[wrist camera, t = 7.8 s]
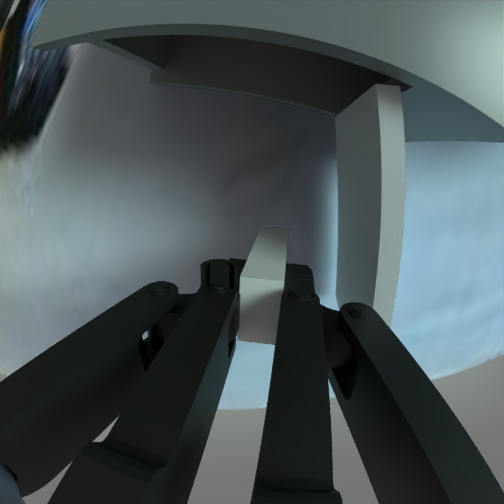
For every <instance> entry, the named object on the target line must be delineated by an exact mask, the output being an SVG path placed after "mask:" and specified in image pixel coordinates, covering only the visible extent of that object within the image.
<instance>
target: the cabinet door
mask: <svg viewBox="0 0 504 504" xmlns="http://www.w3.org/2000/svg"><path fill="white" fill-rule="evenodd" d="M335 132H336V149H337V173H338V253H337V278H336V299H337V303H338V307H339V311H340V308H341V306H342V305H344V304H345V303H350V302H360V303H364V304H366V305H368V306H370V307H372V308H373V309H374V310H375V311H376V312H377V313H378V314H379V315H380V317H381V318H382V319H383V320H384V321H385V323H386V324H387V325H388V326H389V328H390V324H391V319H392V314H393V308H394V303H395V296H396V290H397V283H398V276H399V268H400V260H401V251H402V240H403V227H404V211H405V137H404V121H403V109H402V99H401V90H400V86H393V85H384V84H375V85H374V86H372V87H371V88H370V89H369V90H367V91H366V92H365V93H364V94H363V95H361V96H360V97H359V98H358V99H356V100H355V101H354V102H353V103H352V104H350V105H349V106H348V107H347V108H346V109H344V110H343V111H342V112H341V113H340V114H338V115H337V116H336V117H335Z"/></svg>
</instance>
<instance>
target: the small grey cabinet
mask: <svg viewBox="0 0 504 504" xmlns="http://www.w3.org/2000/svg"><path fill="white" fill-rule="evenodd" d="M85 42H88V43H91V44H94V45H96V46H99V47H102V48H104V49H107V50H109V51H112V52H114V53H117V54H119V55H121V56H124V57H126V58H128V59H131V60H133V61H135V62H137V63H140V64H142V65H144V66H146V67H148V68H151V69H152V73H151V77H150V81H149V82H150V83H153V84H155V85H170V86H182V87H193V88H202V89H210V90H217V91H224V92H231V93H237V94H243V95H249V96H254V97H259V98H264V99H269V100H274V101H278V102H283V103H287V104H291V105H295V106H299V107H303V108H307V109H311V110H314V111H318V112H322V113H325V114H328V115H332V116H335V117H336V116H337V115H338V114H340V113H341V112H342V111H343V110H344V109H346V108H347V107H348V106H349V105H350V104H352V103H353V102H354V101H355V100H356V99H358V98H359V97H360V96H361V95H363V94H364V93H365V92H366V91H367V90H369V89H370V88H371V87H372V86H374V85H375V84H384V85H393V86H400V90H401V99H402V109H403V121H404V137H405V142H412V141H483V142H502V143H504V0H48V3H47V5H46V7H45V9H44V12H43V14H42V17H41V19H40V22H39V24H38V27H37V30H36V33H35V36H34V38H33V41H32V44H31V48H35V49H40V50H45V51H48V50H51V49H56V48H60V47H64V46H69V45H74V44H79V43H85Z"/></svg>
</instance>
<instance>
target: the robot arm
mask: <svg viewBox="0 0 504 504" xmlns="http://www.w3.org/2000/svg"><path fill="white" fill-rule="evenodd" d="M12 3H13V0H0V30H1V28H2V26H3V24H4V22H5V19H6V17H7V15H8V13H9V10H10V8H11V5H12ZM288 230H289V229H287V228H276V227H266V226H261V228H260V231H259V233H258V235H257V238H256V240H255V243H254V245H253V247H252V250H251V252H250V254H249V257H248V259H247V260H243V259H233V258H230V259H229V260H225V259H213V260H208V261H205V262H203V263H202V264H201V286H200V288H199V290H198V291H197V293H193V294H178V287H177V286H176V285H175V284H173V283H170V282H165V281H162V282H161V281H157V282H154V283H150V284H148V285H146V286H144V287H143V288H141V289H139V290H138V291H136V292H135V293H133V294H132V295H130V296H128V297H127V298H125V299H124V300H122V301H120V302H119V303H117V304H116V305H114V306H113V307H111V308H110V309H108V310H106V311H105V312H103V313H102V314H100V315H99V316H97V317H96V318H94V319H92V320H91V321H89V322H88V323H86V324H85V325H83V326H82V327H80V328H79V329H77V330H76V331H74V332H73V333H71V334H70V335H68V336H67V337H65V338H64V339H62V340H61V341H59V342H58V343H56V344H55V345H53V346H52V347H50V348H49V349H47V350H46V351H44V352H43V353H41V354H40V355H38V356H37V357H35V358H34V359H32V360H31V361H30V362H28V363H27V364H25V365H24V366H22V367H21V368H19V369H18V370H17V371H15V372H14V373H12V374H11V375H9V376H8V377H7V378H5V379H4V380H2V381H1V382H0V504H25V502H24V501H23V499H22V497H24V496H27V495H29V494H32V493H33V492H35V491H37V490H39V489H40V488H42V487H44V486H45V485H46V484H47V483H49V482H50V481H51V480H52V479H53V478H55V477H56V476H57V475H58V474H59V473H60V472H61V471H62V470H63V469H64V468H65V467H66V466H67V465H68V464H70V462H72V461H73V462H72V463H71V465H70V466H69V468H68V470H67V471H66V473H65V475H64V476H63V478H62V480H61V481H60V483H59V485H58V487H57V488H56V490H55V492H54V493H53V495H52V497H51V499H50V500H49V502H48V504H187V502H188V499H189V496H190V492H191V490H192V487H193V483H194V480H195V477H196V474H197V471H198V468H199V465H200V461H201V458H202V455H203V452H204V449H205V446H206V442H207V439H208V436H209V433H210V429H211V426H212V423H213V420H214V417H215V413H216V410H217V407H218V404H219V401H220V397H221V394H222V391H223V388H224V384H225V381H226V378H227V375H228V371H229V368H230V365H231V361H232V358H233V355H234V351H235V347H236V336H237V332H238V340H241V341H248V342H256V343H264V344H273V345H275V351H274V358H273V366H272V373H271V381H270V388H269V395H268V401H267V408H266V415H265V421H264V428H263V434H262V440H261V446H260V452H259V458H258V464H257V470H256V475H255V482H254V487H253V492H252V497H251V503H250V504H342V498H341V495H340V493H339V492H338V491H337V490H335V489H334V486H333V467H332V466H333V465H332V435H331V416H330V401H329V386H328V379H329V381H330V384H331V386H332V389H333V391H334V393H335V396H336V398H337V400H338V403H339V405H340V408H341V410H342V412H343V415H344V417H345V420H346V422H347V425H348V427H349V430H350V432H351V434H352V437H353V439H354V442H355V444H356V447H357V449H358V451H359V454H360V457H361V459H362V462H363V464H364V467H365V469H366V472H367V474H368V477H369V479H370V482H371V484H372V487H373V490H374V492H375V495H376V497H377V500H378V502H379V504H504V492H503V491H502V489H501V487H500V485H499V483H498V482H497V480H496V478H495V477H494V475H493V473H492V472H491V470H490V468H489V466H488V465H487V463H486V462H485V460H484V458H483V457H482V455H481V454H480V452H479V450H478V449H477V447H476V446H475V444H474V443H473V441H472V440H471V438H470V436H469V435H468V433H467V432H466V430H465V429H464V427H463V426H462V424H461V423H460V421H459V420H458V419H457V417H456V416H455V414H454V413H453V411H452V410H451V409H450V407H449V406H448V404H447V403H446V401H445V400H444V399H443V397H442V396H441V394H440V393H439V392H438V391H437V389H436V388H435V386H434V385H433V384H432V382H431V381H430V379H429V378H428V377H427V375H426V374H425V373H424V371H423V370H422V369H421V367H420V366H419V365H418V363H417V362H416V361H415V359H414V358H413V357H412V356H411V354H410V353H409V352H408V350H407V349H406V348H405V347H404V345H403V344H402V343H401V341H400V340H399V339H398V338H397V336H396V335H395V334H394V333H393V331H392V330H391V329H390V328H389V326H388V325H387V324H386V323H385V321H384V320H383V319H382V318H381V317H380V315H379V314H378V313H377V312H376V311H375V310H374V309H373V308H372V307H370V306H368V305H366V304H364V303H360V302H350V303H345V304H344V305H342V306H341V308H340V311H336V310H332V309H329V308H327V307H325V306H323V305H321V304H320V299H319V297H318V295H317V294H315V289H314V281H313V273H312V270H311V269H310V268H309V267H308V266H307V265H299V264H289V263H286V256H287V243H288ZM146 331H147V332H148V337H147V338H146V339H144V340H143V339H142V335H143V334H144V332H146ZM119 415H120V416H119ZM118 416H119V417H118ZM117 417H118V419H117V421H116V422H115V424H114V426H113V427H112V429H111V431H110V432H109V434H108V436H107V437H106V438H105V440H104V441H102V442H93V441H94V440H95V438H97V437H98V436H99V435H100V434H101V433H102V432H103V431H104V430H105V429H106V428H107V427H108V426H109V425H110V424H111V423H112V422H113V421H114V420H115V419H116V418H117Z"/></svg>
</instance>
